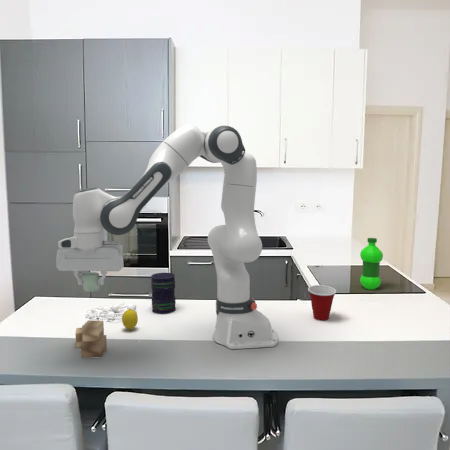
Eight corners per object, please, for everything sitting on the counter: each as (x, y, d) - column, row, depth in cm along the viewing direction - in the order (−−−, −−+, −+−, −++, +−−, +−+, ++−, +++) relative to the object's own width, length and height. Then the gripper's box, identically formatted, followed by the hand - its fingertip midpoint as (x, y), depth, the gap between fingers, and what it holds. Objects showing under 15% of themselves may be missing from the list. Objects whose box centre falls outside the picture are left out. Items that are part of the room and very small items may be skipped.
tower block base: (106, 349, 133) (106, 334, 133) (100, 357, 127) (99, 342, 127) (88, 349, 134) (88, 334, 133) (81, 357, 128) (80, 342, 127)
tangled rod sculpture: (78, 324, 159) (77, 314, 158) (93, 309, 173) (92, 300, 172) (127, 324, 157) (126, 314, 156) (138, 309, 171) (137, 300, 171)
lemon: (131, 325, 154) (131, 305, 153) (141, 329, 150) (140, 308, 149) (119, 330, 150) (118, 309, 149) (128, 334, 146) (128, 312, 145)
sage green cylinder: (101, 287, 130) (101, 272, 130) (96, 291, 125) (95, 276, 125) (86, 287, 130) (86, 272, 130) (80, 291, 126) (80, 275, 125)
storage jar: (173, 305, 178) (172, 271, 176) (177, 312, 168) (177, 277, 167) (150, 307, 175) (149, 273, 173) (153, 315, 165) (152, 279, 163)
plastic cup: (310, 323, 156) (311, 292, 154) (304, 313, 167) (305, 285, 165) (339, 323, 156) (340, 292, 155) (330, 313, 167) (331, 284, 165)
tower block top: (104, 335, 132) (103, 320, 132) (98, 341, 127) (97, 326, 127) (88, 335, 133) (88, 320, 132) (82, 341, 128) (81, 326, 127)
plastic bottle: (355, 288, 203) (357, 238, 200) (365, 284, 211) (367, 236, 207) (374, 292, 196) (376, 240, 193) (384, 288, 203) (387, 238, 200)
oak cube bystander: (92, 340, 141) (91, 326, 140) (92, 346, 136) (91, 331, 136) (76, 342, 139) (76, 328, 139) (76, 348, 135) (75, 333, 134)
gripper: (125, 239, 129) (126, 282, 130) (61, 238, 130) (64, 281, 131) (119, 242, 122) (121, 287, 124) (52, 242, 123) (55, 286, 125)
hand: (91, 284), depth 128 cm, fingers closed on sage green cylinder, 5 cm apart
